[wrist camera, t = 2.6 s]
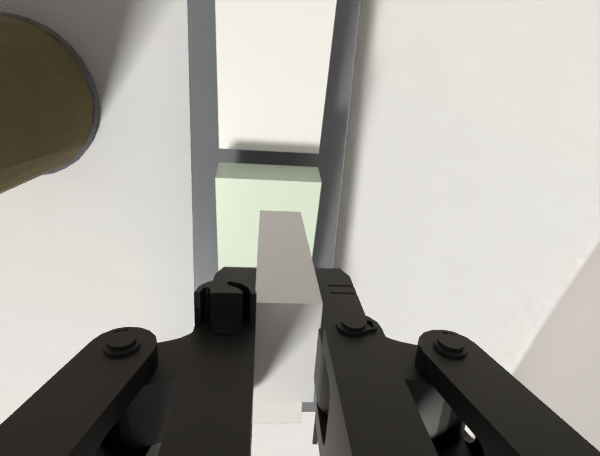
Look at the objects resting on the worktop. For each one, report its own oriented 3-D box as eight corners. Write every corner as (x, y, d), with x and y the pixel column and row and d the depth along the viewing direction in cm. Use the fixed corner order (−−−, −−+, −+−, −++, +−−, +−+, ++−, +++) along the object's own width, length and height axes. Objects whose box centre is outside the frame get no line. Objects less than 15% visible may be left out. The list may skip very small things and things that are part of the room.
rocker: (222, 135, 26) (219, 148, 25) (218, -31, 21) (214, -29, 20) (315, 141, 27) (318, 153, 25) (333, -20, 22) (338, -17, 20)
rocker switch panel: (203, 383, 37) (195, 423, 33) (195, -60, 26) (181, -87, 21) (315, 382, 38) (322, 421, 34) (357, -44, 27) (375, -67, 22)
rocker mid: (221, 276, 30) (219, 296, 28) (218, 162, 25) (215, 177, 23) (304, 278, 30) (306, 297, 29) (318, 167, 25) (321, 182, 24)
